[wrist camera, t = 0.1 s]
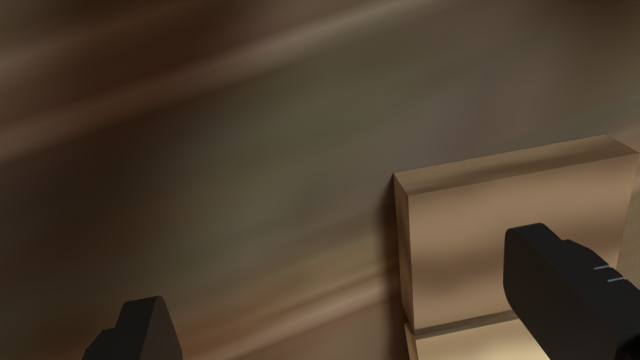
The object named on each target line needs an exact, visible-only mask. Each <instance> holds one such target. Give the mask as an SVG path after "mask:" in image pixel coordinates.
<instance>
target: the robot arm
mask: <svg viewBox="0 0 640 360" xmlns="http://www.w3.org/2000/svg"><path fill="white" fill-rule="evenodd" d="M503 288H504V292H505V296H506V299H507V301H508V303H509V305H510V307H511V308H512V310H513V311H514V312H515V314H516V315H517V316H518V318H519V319H520V320H521V322H522V323H523V324H524V326H525V327H526V328H527V330H528V331H529V332H530V334H531V335H532V336H533V338H534V339H535V340H536V342H537V343H538V344H539V346H540V347H541V348H542V350H543V351H544V352H545V354H546V355H547V356H548V358H549V359H550V360H640V290H639V289H637V288H636V287H635V286H634V285H633V284H632V283H630V282H629V281H628V280H627V279H626V280H624V279H623V276H622V275H621V274H620V273H619V272H617V271H616V270H615V269H614V268H613V267H609V264H608V263H607V262H606V261H605V260H603V259H602V258H601V257H600V256H599V255H597V254H596V253H595V252H594V251H593V250H591V249H589V248H587V247H585V246H583V245H581V244H578V243H576V242H574V241H572V240H570V239H566V240H562V239H560V238H559V237H558V236H557V235H556V234H555V233H554V232H553V231H552V230H550V229H549V228H548V227H547V226H546V225H545V224H543V223H534V224H529V225H524V226H519V227H514V228H509V229H507V231H506V233H505V240H504V264H503ZM82 360H183V357H182V351H181V347H180V344H179V341H178V338H177V335H176V332H175V329H174V327H173V324H172V321H171V318H170V315H169V312H168V309H167V307H166V304H165V301H164V299H163V298H162V297H161V296H154V297H149V298H144V299H139V300H134V301H128V302H125V303H124V305H123V307H122V310H121V312H120V315H119V318H118V321H117V324H116V326H115V328H111V329H106V330H103V331H102V332H101V333H100V334H99V335H98V336H97V338H96V339H95V340H94V341H93V342H92V343H91V344H90V346H89V347H88V348H87V349H86V351H85V353H84V356H83V358H82Z"/></svg>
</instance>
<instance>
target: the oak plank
mask: <svg viewBox="0 0 640 360" xmlns="http://www.w3.org/2000/svg"><path fill="white" fill-rule="evenodd" d="M404 326H405V332H406V338H407V345H408V351H409V357H410V360H550V359H549V358H548V356H547V355H546V354H545V352H544V351H543V350H542V348H541V347H540V346H539V344H538V343H537V342H536V340H535V339H534V338H533V336H532V335H531V334H530V332H529V331H528V330H527V328H526V327H525V326H524V324H523V323H522V322H521V320H520V319H519V318H518V316H517V315H515V316H510V317H505V318H500V319H496V320H491V321H486V322H481V323H476V324H471V325H467V326H462V327H457V328H452V329H447V330H442V331H438V332H433V333H428V334H423V335H418V336H415V335H414V333H413V331H412V328H411V326H410V324H409V322H407V323H404Z"/></svg>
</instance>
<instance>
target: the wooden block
mask: <svg viewBox="0 0 640 360" xmlns="http://www.w3.org/2000/svg"><path fill="white" fill-rule="evenodd" d="M639 154H640V153H639V152H637V151H635V150H633V149H631V148H630V147H628V146H626V145H624V144H622V143H621V142H619V141H617V140H615V139H613V138H611V137H610V136H608V135H606V134H604V135H599V136H593V137H588V138H582V139H577V140H571V141H566V142H560V143H555V144H549V145H544V146H538V147H533V148H527V149H522V150H516V151H511V152H505V153H500V154H495V155H489V156H484V157H478V158H473V159H467V160H462V161H456V162H451V163H445V164H440V165H434V166H429V167H423V168H418V169H412V170H407V171H401V172H396V173H394V189H395V205H396V221H397V237H398V253H399V269H400V284H401V300H402V307H403V310H404V312H405V314H406V317H407V319H408V321H409V324H410V326H411V328H412V331H413V333H414V335H415V336H418V335H423V334H428V333H433V332H438V331H442V330H447V329H452V328H457V327H462V326H467V325H471V324H476V323H481V322H486V321H491V320H496V319H500V318H505V317H510V316H515V315H516V314H515V312H514V311H513V310H512V308H511V307H510V305H509V303H508V301H507V299H506V296H505V292H504V288H503V264H504V240H505V233H506V231H507V229H509V228H514V227H519V226H524V225H529V224H534V223H543V224H545V225H546V226H547V227H548V228H549V229H550V230H552V231H553V232H554V233H555V234H556V235H557V236H558V237H559V238H560V239H562V240H566V239H570V240H572V241H574V242H576V243H578V244H581V245H583V246H585V247H587V248H589V249H591V250H593V251H594V252H595V253H596V254H597V255H599V256H600V257H601V258H602V259H603V260H605V261H606V262H607V263H608V264H609V267H613V268H614V269H615V270H616V265H617V261H618V256H619V251H620V246H621V241H622V236H623V231H624V227H625V222H626V217H627V212H628V207H629V202H630V197H631V193H632V188H633V183H634V178H635V173H636V168H637V163H638V159H639Z"/></svg>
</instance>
